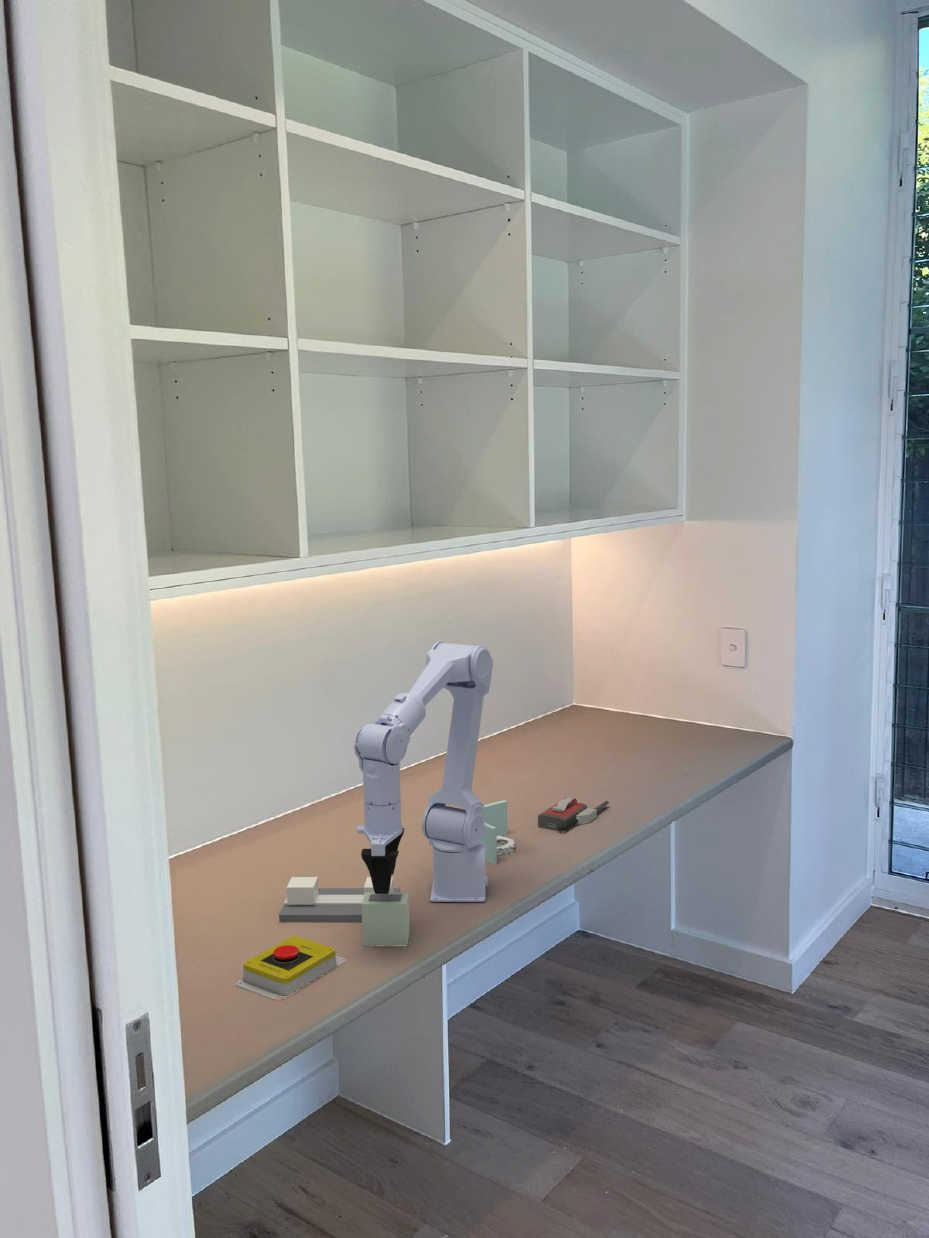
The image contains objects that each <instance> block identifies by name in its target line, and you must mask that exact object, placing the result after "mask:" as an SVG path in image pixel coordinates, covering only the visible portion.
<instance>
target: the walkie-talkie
mask: <svg viewBox="0 0 929 1238" xmlns="http://www.w3.org/2000/svg"><path fill="white" fill-rule="evenodd" d="M609 804H610V802H609V800H605V801H604V802H602V803H600V804H599V805H598V806H596V807H595V808H594V807H593V808H589V807H588V805H587V804H585V803H584V802H583V803H582V802H578V800H577V798H573V797H569V796H565V797H564V798H563V799H560V800H559V801H558V802H556V803H555V804H554V805H553V806H551V807H549V808H548V809H546V810H544V811H542V812H541V813H540V814H538V815H537V827H538V828H540V829H544V830H551V831H554V832H561V833H562V832H563V833H565V832H567V831H568V830H570V829H572V828H573V827H574V826H582V825H587V824H589V823H590V822H593V820H595V819H594V818H596V819H597V815H598V813H599V812H600V811H602V810H603V809H604V808H605V807H606V806H607V805H609ZM586 823H587V824H586ZM581 824H582V825H581ZM571 827H572V828H571ZM569 828H570V829H569ZM567 829H568V830H567ZM566 830H567V831H566Z"/></svg>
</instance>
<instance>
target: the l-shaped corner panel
mask: <svg viewBox="0 0 929 1238" xmlns="http://www.w3.org/2000/svg"><path fill="white" fill-rule="evenodd" d="M484 823H485V828H484V834H483V837H482V839H481V841H480V842H479V843H478V844H483V845H485V854H486V862H487V863H490V864H492V865H495V864H497V863H498V856H508V855H509V854H513V852H514V851H515V848H516V842H515V839H512V838H508V837H507V836H506V835H508V801H507V800H505V799H503V800H500V801H495V802H491V803H487V804H484Z"/></svg>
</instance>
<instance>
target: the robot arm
mask: <svg viewBox="0 0 929 1238" xmlns="http://www.w3.org/2000/svg"><path fill="white" fill-rule="evenodd" d="M425 662H426V664H425V665H426V666H425V668H424V669H423V670H422V672H421V674H419V676H418V678H417V680H416V681H415V682H414V684H412V687H411V688H410V689H409V691H408V692H401V693H398V694H396V695H395V697H393V700H392V701H391V702H390V703H389V705H388V706H387V707H386V708H384V710H383V712H381V714H380V715H379V716H377V717H378V718H377V719H376V720H375V721H374V722H373V723H371V722H370V723H367V724H365V725H364V726H362V727H361V728H360V729H359V730H358V732H357V733H356V736H355V741H354V742H355V743H354V744H353V750H354V754H355V756H356V758H357V759H358V766H359V769H360V771H362V779H363V780H362V781H363V782H362V783H363V784H362V787H363V812H364V814H363V815H364V824H361V825H358V826H357V828H356V833H357V834H361V835H362V834H363V835H364V836H365V837H366V839H367V841H368V842H369V844H370V847H371V848H362V849H361V852H360V854H361V855H360V856H361V859H362V860H363V862H364V864H365V865H366V868H367V870H368V872H369V875H370V876H369V877H371V881H372V885H373V889H374V892H375V894H388V893H389V889H390V884H391V877H393V876H392V875H394V873H395V869H396V863H397V859H398V856H399V852H400V850H399V845H400V843H401V840H402V838H403V836H404V833H405V827H404V826H403V825H402V808H401V807H402V805H401V804H402V801H401V773H400V772H401V768H400V767H401V765H400V764H401V763H400V762H401V761H403V760H404V758H405V756H406V754H407V750H408V746H409V743H410V740H411V735H412V734H414V732H415V730H417V728H418V727H419V726H420V725H421V723H422V722H423V721H424V720H425V717H426V715H427V711H426V706H427V705H428V704H429V702H431V701H432V700H433V699H434V698H435V696H437V695H438V693H439V692H441V691H442V689H443V688H444V689H445V690H447V691H449V693H450V694H451V696H452V697H453V702H452V703H453V704H452V711H451V718H450V727H449V733H448V741H447V748H446V756H445V760H444V761H445V763H444V769H443V778H442V783H441V785H442V786H441V788H439V789H438V790H436V791H434V793H432V794H431V795H429V797H428V799H427V804H426V807H425V808H426V809H425V810H424V813H423V815H422V818H421V830H422V833H423V835H424V837H425V839H427V840H428V845H429V846H431V847H432V863H433V864H432V865H433V866H432V868H433V869H432V871H433V872H432V873H433V875H432V877H433V882H432V885H431V891H430V898H429V900H430V902H431V903H445V902H446V903H453V902H454V903H459V902H460V903H473V902H474V903H475V902H476V903H477V902H478V903H483V902H486V897H487V895H486V892H487V890H486V889H487V887H488V886H489V885H488V882H489V881H488V875H487V869H486V862H487V861H486V854H485V845H483V844H478V843H479V842H480V841H481V839H482V837H483V834H484V828H485V823H484V805H485V804H484V803H483V801H481V799H479V797H478V796H477V795H476V794H475V793H474V792H473V791H472V789H473V788H472V787H473V781H474V780H473V779H474V775H475V774H474V772H475V765H476V758H477V753H478V752H477V751H478V742H479V735H480V728H481V721H482V715H483V706H484V698H485V695H488V694H489V692H490V688H491V687H490V686H491V682H492V681H491V680H492V672H493V666H494V660H493V657H492V655H491V654H490V651H489V649H488V648H487V647H486V646H485V645H482V644H481V645H472V644H462V643H461V644H459V643H451V642H449V643H448V642H444V641H437V642H435V643H433V645H432V646H431V648H430V650H429V651H427V653H426V661H425ZM453 806H454V807H453ZM458 807H459V808H458ZM460 807H461V808H460Z"/></svg>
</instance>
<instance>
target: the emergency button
mask: <svg viewBox="0 0 929 1238" xmlns="http://www.w3.org/2000/svg"><path fill="white" fill-rule="evenodd" d="M344 962H345V963H346V958H344V957H342V956H339V955H337V954H336V950H335V948H333V947H330V946H328V945H325V944H322V943H319V942H316V941H312V940H310V939H306V938H303V937H301V936H295V935H294V936H290V937H288V938H286V939H284V940H283V941H281V942H278V943H277V944H275V945H273V946H272V947H270V948H268V949H266V950H264V951H262V952H259V954H257V955H255V956H253V957H250V958H249V959H248V960H246V961H244V962H243V966H242V968H243V971H242V978H241V979H239V980H238V981H236V983H235V986H236V987H238V988H239V989H242V990H245V991H248V992H251V993H252V994H255V993H256V995H258V996H261V997H263V996H265V997H264V998H266V997H268V998H267V999H269V998H270V999H269V1000H271V999H275V998H276V997H278V996H288V995H290V994H291V993H293V992H296V990H298V989H301V988H302V987H303V986H305V985H307V986H309V985H308V983H311V982H312V983H314V982H315V981H314V980H316V979H317V980H319V979H320V978H319V977H321V975H324V976H325V974H326V973H327V972H329V973H330V972H332V971H334V970H335V969H336V968H338V966H339V965H340V966H342V965H344V964H345V963H344ZM343 963H344V964H343ZM340 966H339V967H340ZM334 968H335V969H334ZM333 969H334V970H333ZM327 974H328V973H327ZM327 974H326V975H327ZM318 978H319V979H318ZM321 978H322V977H321ZM317 980H316V981H317ZM313 981H314V982H313ZM312 983H311V984H312ZM301 990H302V989H301ZM296 993H297V992H296ZM274 996H276V997H274ZM276 999H278V998H276ZM279 999H280V998H279ZM283 999H284V998H283ZM284 1000H285V999H284Z"/></svg>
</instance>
